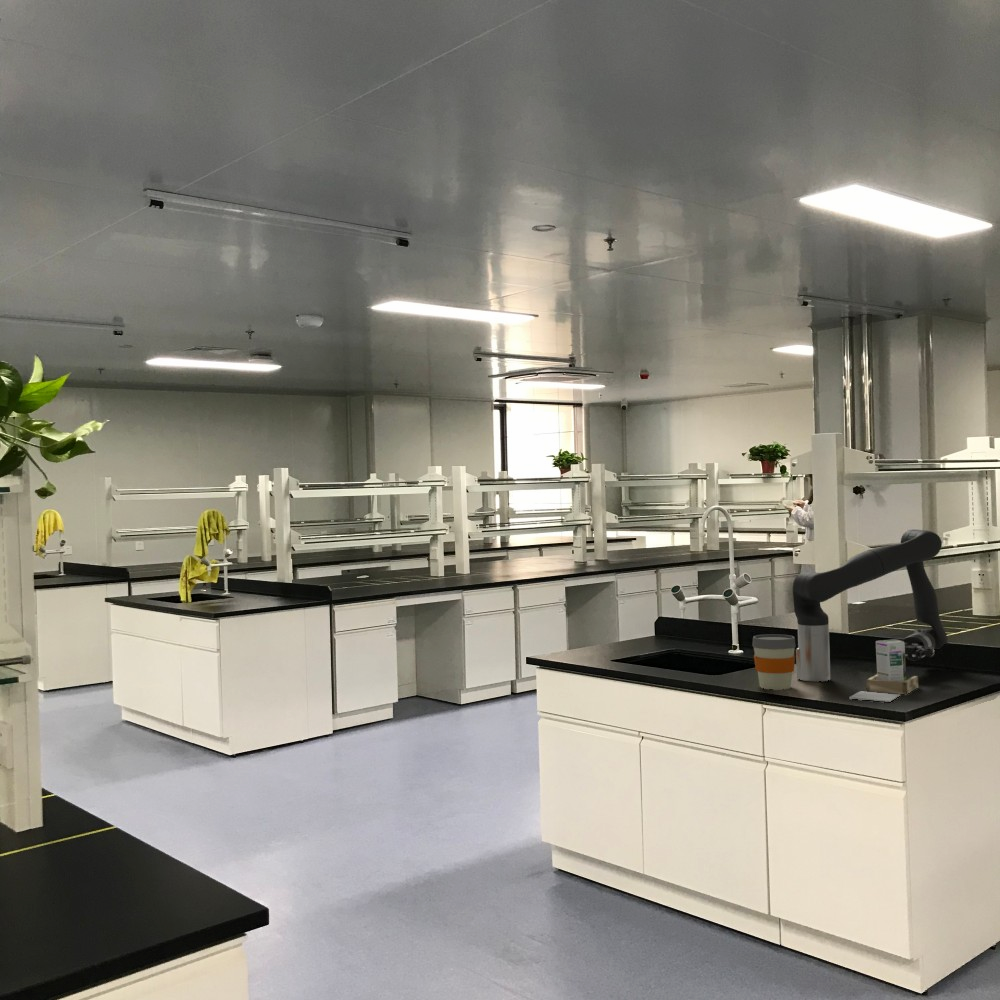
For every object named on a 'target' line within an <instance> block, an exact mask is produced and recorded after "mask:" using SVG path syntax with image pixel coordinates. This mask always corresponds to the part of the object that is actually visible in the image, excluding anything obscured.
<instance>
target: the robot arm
mask: <svg viewBox="0 0 1000 1000" xmlns="http://www.w3.org/2000/svg"><path fill="white" fill-rule="evenodd" d="M942 544H943V542H942V539H941V537H940V535H938V534H937V533H935V532H934V531H931V530H927V529H925V530H924V529H908V530H907V531H905V532H904V533H903V534H902V536H901V538H900V543H898V544H891V545H885V546H879V547H874V548H870V549H867V550H864V551H862V552H859V553H857V554H855V555H853V556H851V557H850V558H849V559H848V560H847V561H846V562H845V563H844V564H842V565H841V566H840V567H837V568H834V569H831V570H827V571H823V572H816V571H814V572H813V571H802V572H800V573H798V574H797V575H796V576H795V578H794V580H793V583H792V584H793V585H792V597H793V599H792V600H793V608H794V614H795V616H796V621H797V642H798V643H797V646H798V647H796V649H795V660H796V661H795V664H796V680H799V679H800V680H801V681H804V682H814V683H815V682H816V683H817V682H819V681H821V682H828V680H829V681H830V680H831V659H830V658H831V657H830V656H831V655H830V654H831V652H830V651H831V650H830V629H829V627H830V625H829V622H830V621H829V616H828V614H827V613H826V612H825V611H824V610H823V608H822V606H821V603H823V602H826V601H829V599H832V598H834V597H836V596H837V595H839V594H840V593H843V592H844V591H847V590H849V589H852V588H855V587H857V586H860V585H863V584H866V583H868V582H871V581H875V580H876V579H879V578H882V577H883V576H887V574H888V575H889V574H890V573H891V574H892V573H893V572H895V571H898V570H900V569H901V568H906V571H907V575H908V577H909V579H908V580H909V582H910V585H911V591H912V597H913V606H914V607H913V608H914V612H915V613H914V614H915V619H916V621H918V622H919V623H923V624H927V625H929V626H930V627H931V628H916V629H915V630H913V633H912V634H909V635H908V636H906V637H904V638H903V639H902V640H901V641H904V643H905V659H907V660H909V661H917V660H918V661H919V660H921V659H923V658H924V657H927V658H932V657H934V655H935V650H934V649H940V648H941V647H942V646H943V645H944V644H946V643H948V644H949V639H948V635H947V633H946V630H945V628H944V626H943V624H942V621H941V618H940V614H939V605H938V603H939V602H938V597H937V593H936V590H935V589H934V588H935V587H934V586H933V585H932V582H931V580H930V578H929V576H928V574H927V572H926V568H925V565H924V561H927V560H930V559H933V558H935V557H936V556H937V555H938V554H939V553H940V552H941V549H942V546H943V545H942Z"/></svg>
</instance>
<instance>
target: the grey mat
mask: <svg viewBox="0 0 1000 1000" xmlns="http://www.w3.org/2000/svg"><path fill="white" fill-rule="evenodd" d="M899 696H900V697H901V695H900V694H888V693H877V692H867V691H866V690H865V691H862V690H860V691H858V692H856V693H854V694H853V695H850V696H849V698H848V699H849V700H852V699H858V700H857V701H862V700H874V701H885V702H891V701H892V700H894V699H896V698H897V697H899ZM900 697H899V698H900ZM897 699H898V698H897ZM897 699H896V700H897ZM894 701H895V700H894ZM891 703H892V702H891Z"/></svg>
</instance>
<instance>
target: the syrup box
mask: <svg viewBox="0 0 1000 1000" xmlns="http://www.w3.org/2000/svg"><path fill="white" fill-rule="evenodd" d="M875 656H876V675H877V680H882V681H895V682H905V681H906V680H907V669H906V668H907V667H906V665H907V664H906V658H905V643H904V641H902V640H901V639H893V638H892V639H884V640H883V639H882V640H876V641H875Z"/></svg>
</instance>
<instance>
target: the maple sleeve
mask: <svg viewBox="0 0 1000 1000" xmlns="http://www.w3.org/2000/svg"><path fill="white" fill-rule="evenodd" d="M865 681H866V684H865V687H866V692H867V691H874V692H888V693H889V692H890V693H898V694H908V693H910V692H911V691H913V690H914V689H916V688H918V689H919V676H918V675H913V676H911V677H909V678H908V679H906V681H905V682H895V681H882V680H877V674H874V675H873V676H870V677H869V678H867V679H866V680H865ZM916 690H917V689H916ZM914 691H915V690H914ZM914 691H913V692H914ZM911 693H912V692H911ZM911 693H910V694H911ZM908 695H909V694H908Z"/></svg>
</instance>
